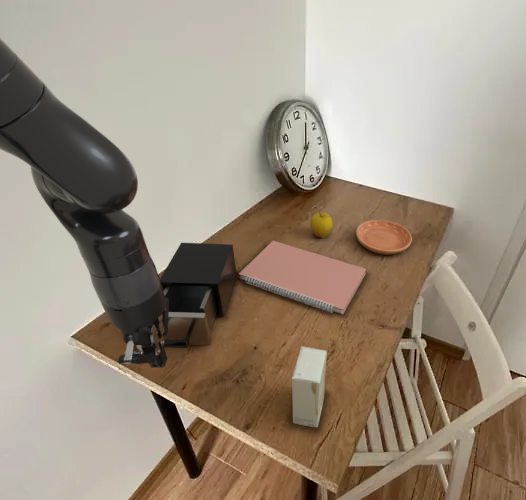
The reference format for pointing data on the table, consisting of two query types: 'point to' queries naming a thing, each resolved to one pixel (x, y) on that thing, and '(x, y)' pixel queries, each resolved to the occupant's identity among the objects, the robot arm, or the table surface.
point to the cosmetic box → (309, 386)
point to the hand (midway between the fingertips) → (159, 363)
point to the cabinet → (203, 270)
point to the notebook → (304, 276)
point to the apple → (321, 224)
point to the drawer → (190, 315)
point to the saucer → (383, 236)
